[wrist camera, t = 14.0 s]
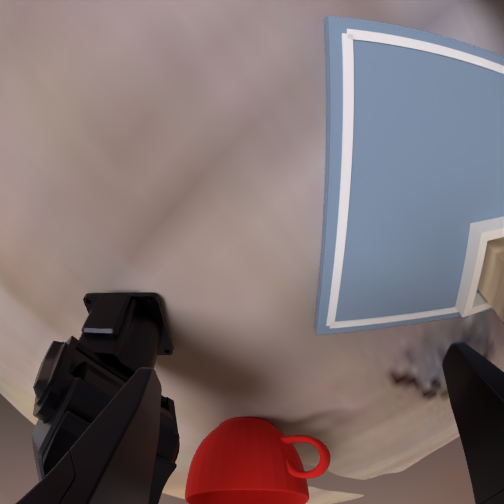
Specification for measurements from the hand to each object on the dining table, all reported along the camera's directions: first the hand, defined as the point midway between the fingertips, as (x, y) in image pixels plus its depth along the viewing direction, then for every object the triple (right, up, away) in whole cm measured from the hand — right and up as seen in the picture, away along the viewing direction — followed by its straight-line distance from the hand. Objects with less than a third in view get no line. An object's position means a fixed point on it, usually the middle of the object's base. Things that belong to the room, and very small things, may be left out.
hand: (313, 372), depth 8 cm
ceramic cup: (-1, -16, +25) cm, 30 cm away
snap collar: (+19, +3, +13) cm, 23 cm away
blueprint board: (+14, +7, +11) cm, 19 cm away
